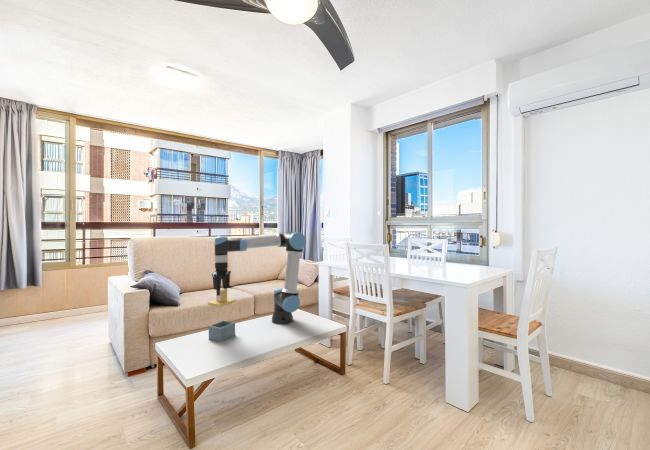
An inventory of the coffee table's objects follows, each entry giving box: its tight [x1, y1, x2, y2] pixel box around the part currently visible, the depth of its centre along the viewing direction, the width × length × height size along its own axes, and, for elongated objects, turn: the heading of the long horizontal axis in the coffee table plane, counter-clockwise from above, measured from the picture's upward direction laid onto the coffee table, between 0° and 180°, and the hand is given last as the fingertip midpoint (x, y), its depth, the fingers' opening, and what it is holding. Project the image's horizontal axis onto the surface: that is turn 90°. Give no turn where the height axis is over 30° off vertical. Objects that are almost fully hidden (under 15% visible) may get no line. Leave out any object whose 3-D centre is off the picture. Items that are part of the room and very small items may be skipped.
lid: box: [207, 288, 237, 308], centre depth 191 cm, size 13×11×9 cm
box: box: [208, 319, 236, 343], centre depth 192 cm, size 12×10×8 cm
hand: (221, 299), depth 191 cm, fingers closed on lid, 3 cm apart
